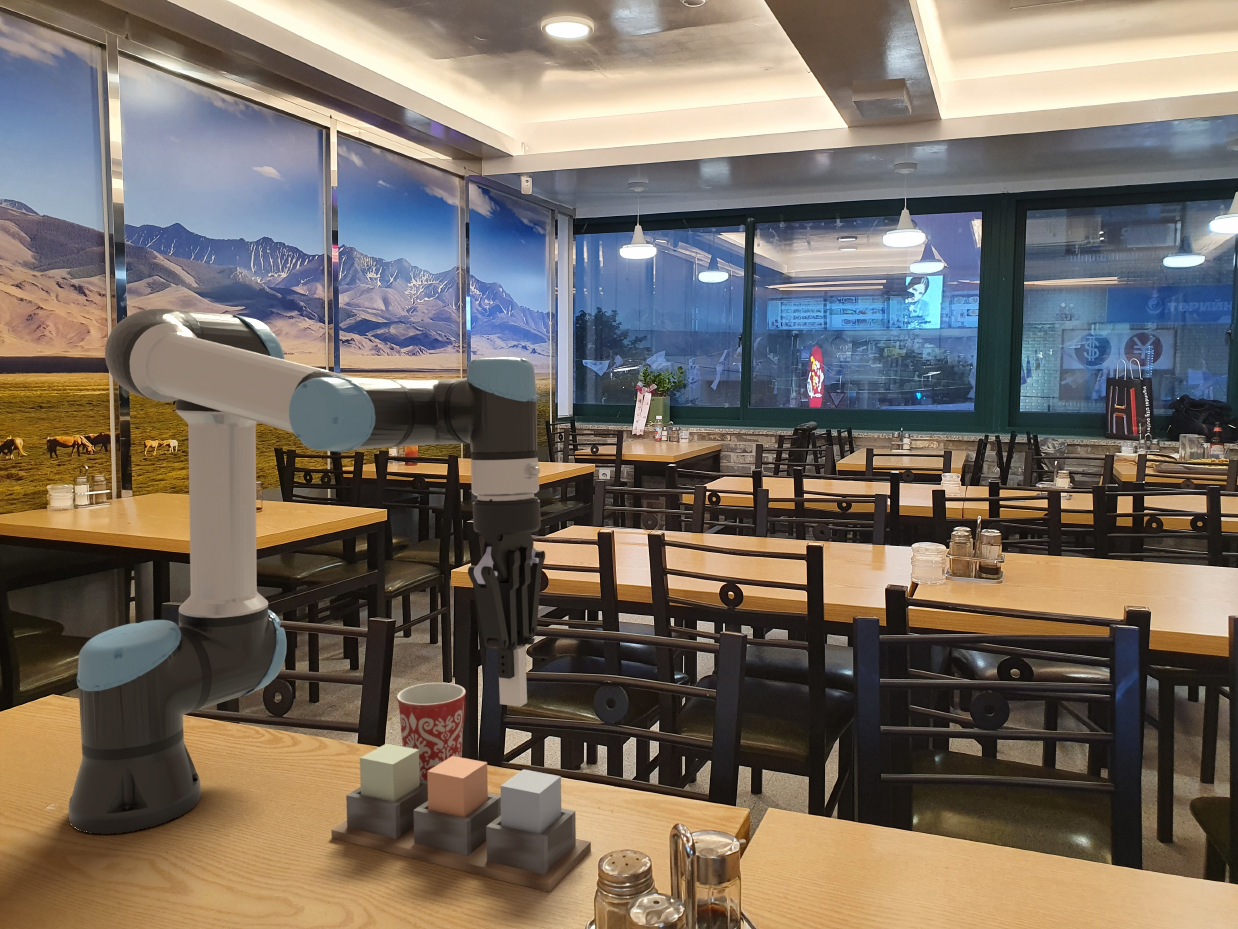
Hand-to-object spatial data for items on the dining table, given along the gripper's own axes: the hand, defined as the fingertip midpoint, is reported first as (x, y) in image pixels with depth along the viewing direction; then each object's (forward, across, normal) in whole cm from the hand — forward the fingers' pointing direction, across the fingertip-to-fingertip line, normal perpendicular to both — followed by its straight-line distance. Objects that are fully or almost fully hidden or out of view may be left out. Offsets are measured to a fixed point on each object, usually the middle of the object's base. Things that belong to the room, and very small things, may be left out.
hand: (513, 703), depth 103 cm
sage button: (+14, 0, +18) cm, 23 cm away
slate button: (+15, 0, -2) cm, 15 cm away
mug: (+18, +13, +20) cm, 30 cm away
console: (+18, 0, +8) cm, 20 cm away
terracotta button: (+15, 0, +8) cm, 17 cm away
